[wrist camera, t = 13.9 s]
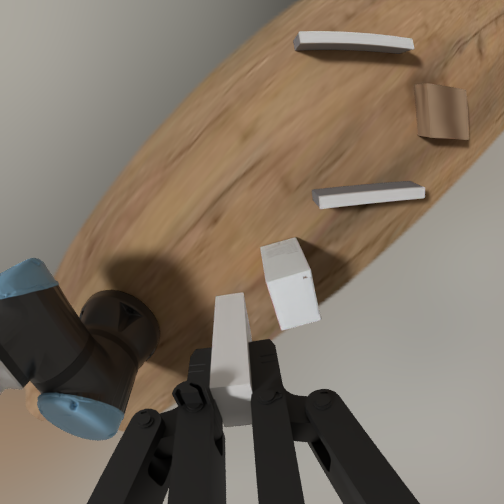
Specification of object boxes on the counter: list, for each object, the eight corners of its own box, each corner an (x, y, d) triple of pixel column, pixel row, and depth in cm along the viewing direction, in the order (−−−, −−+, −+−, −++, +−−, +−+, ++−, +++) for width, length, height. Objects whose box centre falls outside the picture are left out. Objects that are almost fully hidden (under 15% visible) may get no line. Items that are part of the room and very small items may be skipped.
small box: (259, 246, 45) (264, 281, 35) (296, 235, 45) (311, 268, 35) (273, 290, 48) (280, 332, 39) (307, 281, 48) (322, 320, 38)
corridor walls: (312, 200, 42) (320, 208, 38) (293, 40, 33) (299, 31, 29) (410, 190, 42) (424, 198, 38) (397, 44, 33) (412, 38, 29)
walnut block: (416, 135, 39) (430, 137, 35) (412, 85, 36) (426, 83, 32) (454, 137, 39) (468, 140, 35) (451, 90, 35) (466, 89, 32)
